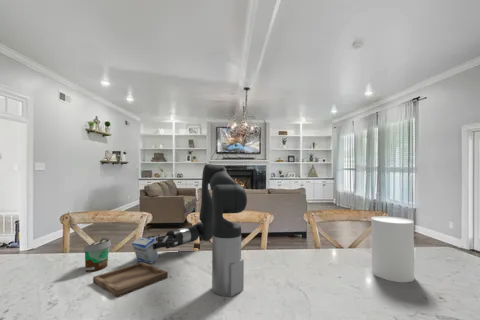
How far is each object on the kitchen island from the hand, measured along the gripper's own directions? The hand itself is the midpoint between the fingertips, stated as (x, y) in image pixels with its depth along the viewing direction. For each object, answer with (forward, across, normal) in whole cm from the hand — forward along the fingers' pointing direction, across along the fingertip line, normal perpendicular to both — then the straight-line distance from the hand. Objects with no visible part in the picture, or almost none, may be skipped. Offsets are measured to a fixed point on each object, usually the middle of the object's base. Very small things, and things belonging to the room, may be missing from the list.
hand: (147, 244), depth 109 cm
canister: (-48, +82, +6) cm, 95 cm away
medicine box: (-1, 0, +6) cm, 6 cm away
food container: (+15, -8, +7) cm, 18 cm away
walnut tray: (+14, +12, +7) cm, 20 cm away
